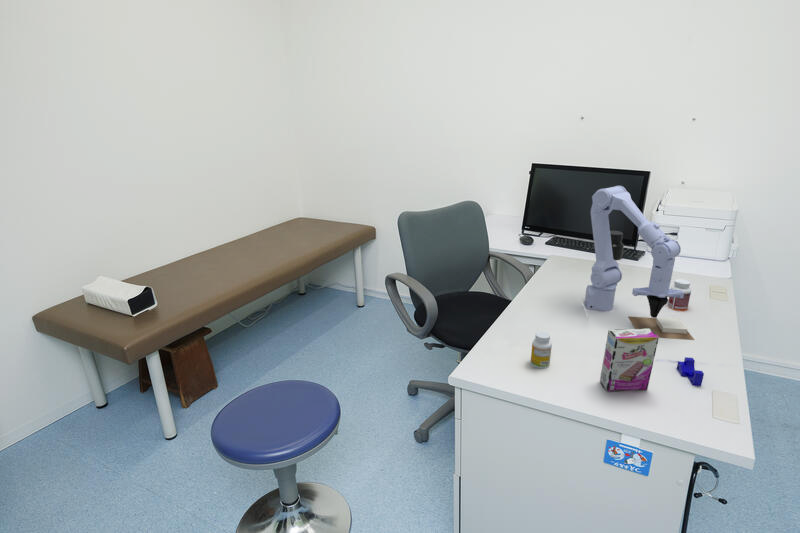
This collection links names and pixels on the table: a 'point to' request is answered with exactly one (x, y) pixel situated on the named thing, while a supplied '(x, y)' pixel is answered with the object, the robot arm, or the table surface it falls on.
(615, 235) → the ink bottle
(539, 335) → the supplement bottle
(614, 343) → the candy bar box
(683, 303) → the pill bottle
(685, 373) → the cable holder
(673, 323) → the tile
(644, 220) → the robot arm
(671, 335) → the board
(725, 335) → the table surface
